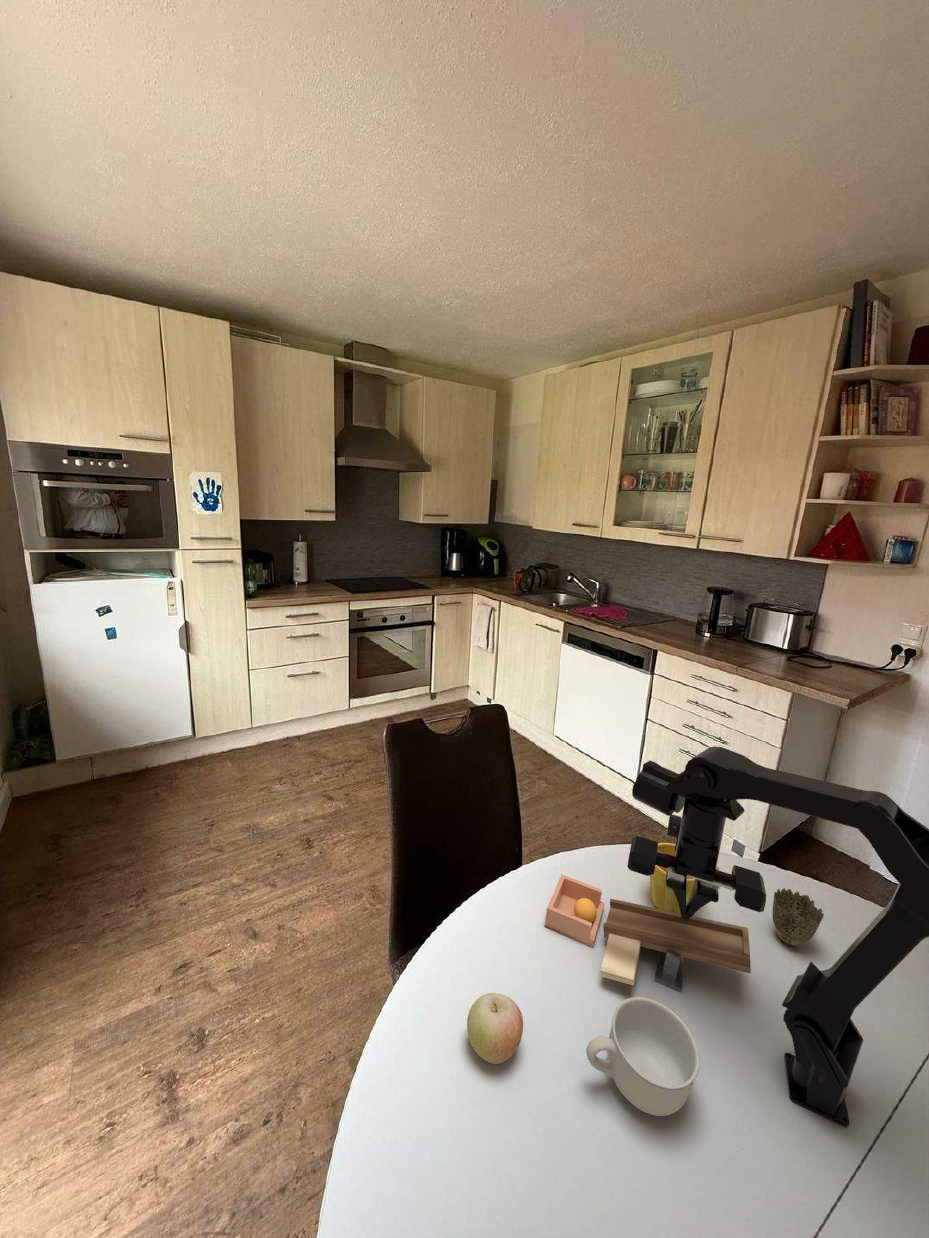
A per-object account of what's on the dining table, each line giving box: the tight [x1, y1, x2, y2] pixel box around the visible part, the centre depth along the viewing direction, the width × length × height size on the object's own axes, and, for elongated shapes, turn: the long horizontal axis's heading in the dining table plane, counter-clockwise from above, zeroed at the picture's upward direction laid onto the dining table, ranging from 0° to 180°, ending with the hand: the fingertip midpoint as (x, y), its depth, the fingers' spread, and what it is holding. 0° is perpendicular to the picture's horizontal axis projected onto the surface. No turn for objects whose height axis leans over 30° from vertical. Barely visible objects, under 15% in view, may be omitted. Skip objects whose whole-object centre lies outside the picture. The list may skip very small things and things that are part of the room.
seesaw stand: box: [653, 910, 685, 993], centre depth 86 cm, size 12×4×5 cm, turn 154°
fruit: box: [466, 992, 524, 1065], centre depth 69 cm, size 8×7×8 cm
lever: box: [599, 898, 752, 986], centre depth 81 cm, size 15×22×3 cm
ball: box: [574, 898, 597, 923], centre depth 92 cm, size 4×4×4 cm
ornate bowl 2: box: [771, 887, 824, 948], centre depth 91 cm, size 8×7×8 cm
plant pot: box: [649, 842, 695, 913], centre depth 97 cm, size 10×10×10 cm
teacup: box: [585, 996, 700, 1117], centre depth 66 cm, size 14×11×8 cm
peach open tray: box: [544, 874, 605, 949], centre depth 92 cm, size 10×9×4 cm
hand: (684, 917), depth 79 cm, fingers closed
